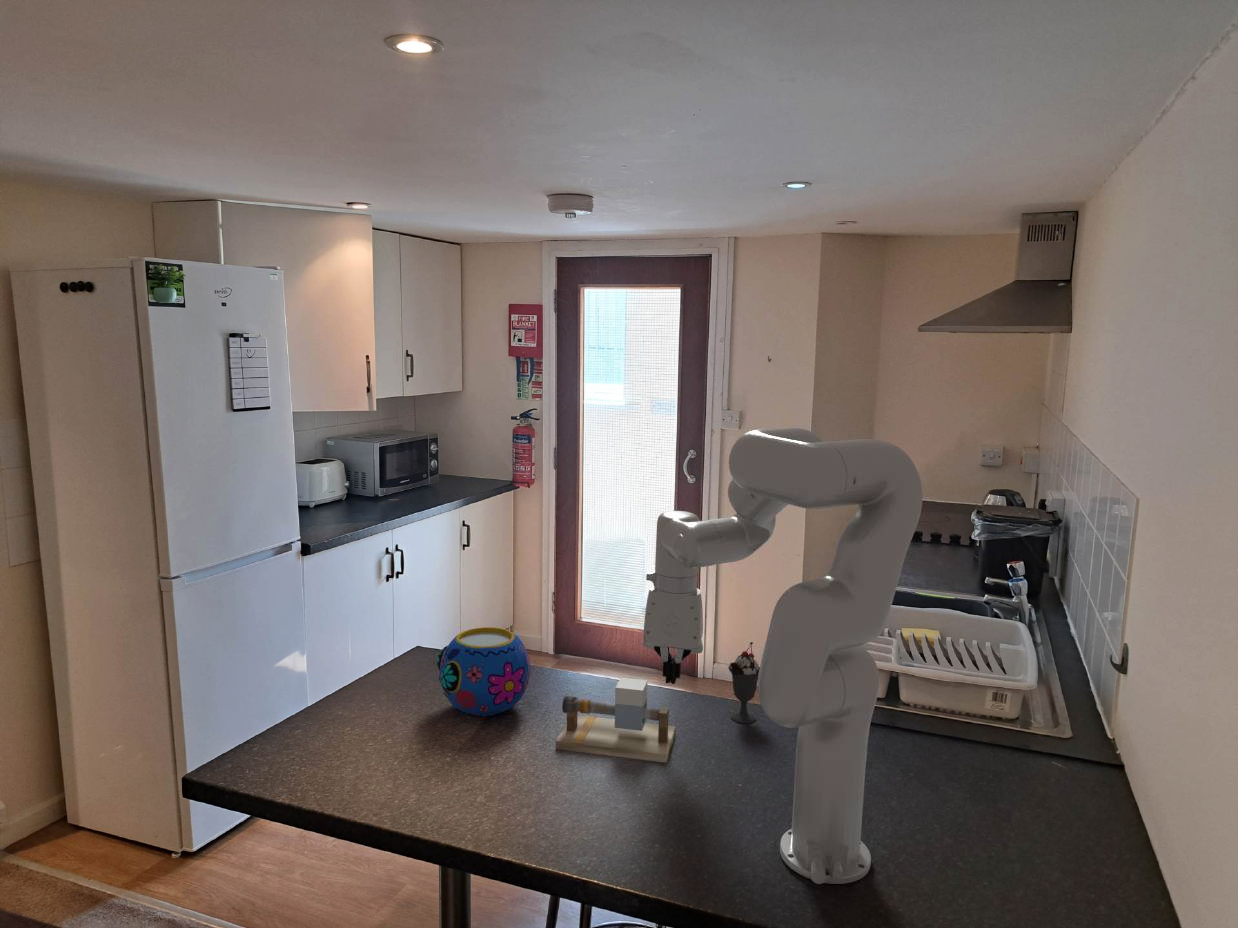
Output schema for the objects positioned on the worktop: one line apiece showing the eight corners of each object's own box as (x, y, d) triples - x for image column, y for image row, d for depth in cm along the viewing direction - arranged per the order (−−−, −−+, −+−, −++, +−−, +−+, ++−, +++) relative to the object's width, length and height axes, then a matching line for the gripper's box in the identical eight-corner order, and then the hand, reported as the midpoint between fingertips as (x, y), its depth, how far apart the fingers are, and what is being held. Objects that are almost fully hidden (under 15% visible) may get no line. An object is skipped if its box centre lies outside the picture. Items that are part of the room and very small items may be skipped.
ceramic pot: (435, 695, 167) (434, 625, 165) (521, 686, 173) (521, 618, 171) (443, 734, 151) (442, 656, 149) (538, 723, 156) (539, 648, 154)
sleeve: (641, 730, 146) (643, 690, 145) (614, 727, 147) (615, 687, 146) (646, 719, 150) (647, 680, 149) (619, 716, 151) (620, 677, 150)
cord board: (666, 762, 142) (667, 721, 141) (555, 748, 146) (556, 709, 145) (675, 733, 153) (676, 695, 152) (571, 721, 157) (572, 684, 156)
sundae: (759, 711, 163) (762, 639, 161) (761, 726, 157) (765, 651, 155) (725, 709, 164) (728, 637, 162) (726, 724, 157) (729, 649, 155)
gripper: (629, 584, 141) (626, 684, 144) (716, 592, 138) (710, 694, 141) (637, 572, 149) (634, 667, 152) (720, 579, 146) (715, 677, 149)
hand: (671, 680), depth 146 cm, fingers closed
